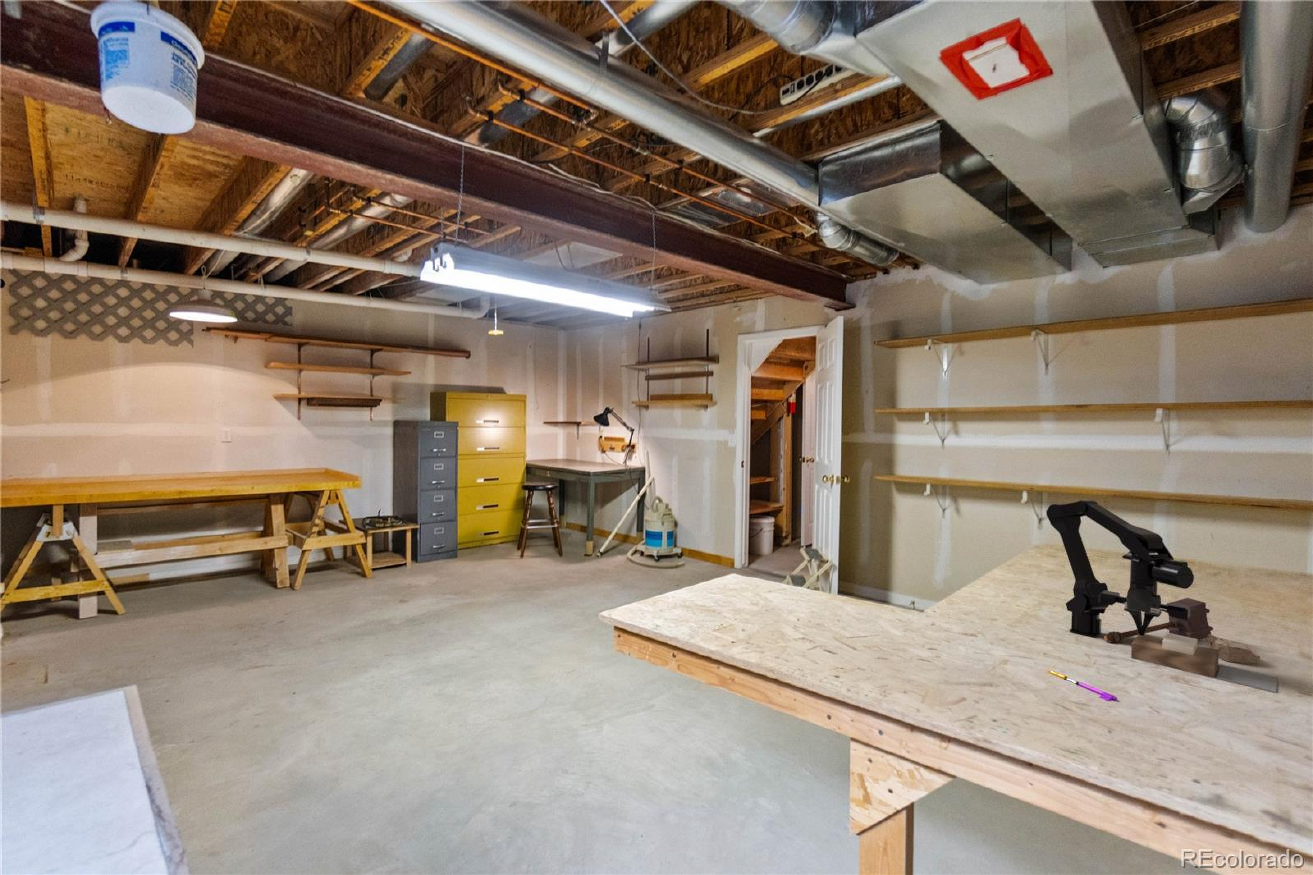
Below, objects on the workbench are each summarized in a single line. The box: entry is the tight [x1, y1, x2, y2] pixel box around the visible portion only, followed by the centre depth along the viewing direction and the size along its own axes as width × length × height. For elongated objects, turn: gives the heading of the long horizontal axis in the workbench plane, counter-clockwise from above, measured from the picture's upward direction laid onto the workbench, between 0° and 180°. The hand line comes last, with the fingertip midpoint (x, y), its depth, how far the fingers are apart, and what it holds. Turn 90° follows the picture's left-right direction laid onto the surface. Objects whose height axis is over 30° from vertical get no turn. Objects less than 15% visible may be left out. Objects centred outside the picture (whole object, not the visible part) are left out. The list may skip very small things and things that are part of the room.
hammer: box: [1103, 597, 1214, 643], centre depth 169 cm, size 7×33×10 cm, turn 99°
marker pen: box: [1047, 670, 1118, 702], centre depth 137 cm, size 3×1×16 cm
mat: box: [1216, 664, 1278, 694], centre depth 143 cm, size 10×12×1 cm
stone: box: [1206, 633, 1261, 665], centre depth 157 cm, size 9×11×5 cm
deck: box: [1130, 633, 1220, 679], centre depth 153 cm, size 16×12×4 cm
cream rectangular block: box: [1162, 632, 1199, 655], centre depth 152 cm, size 6×9×2 cm, turn 132°
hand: (1141, 635), depth 158 cm, fingers closed
